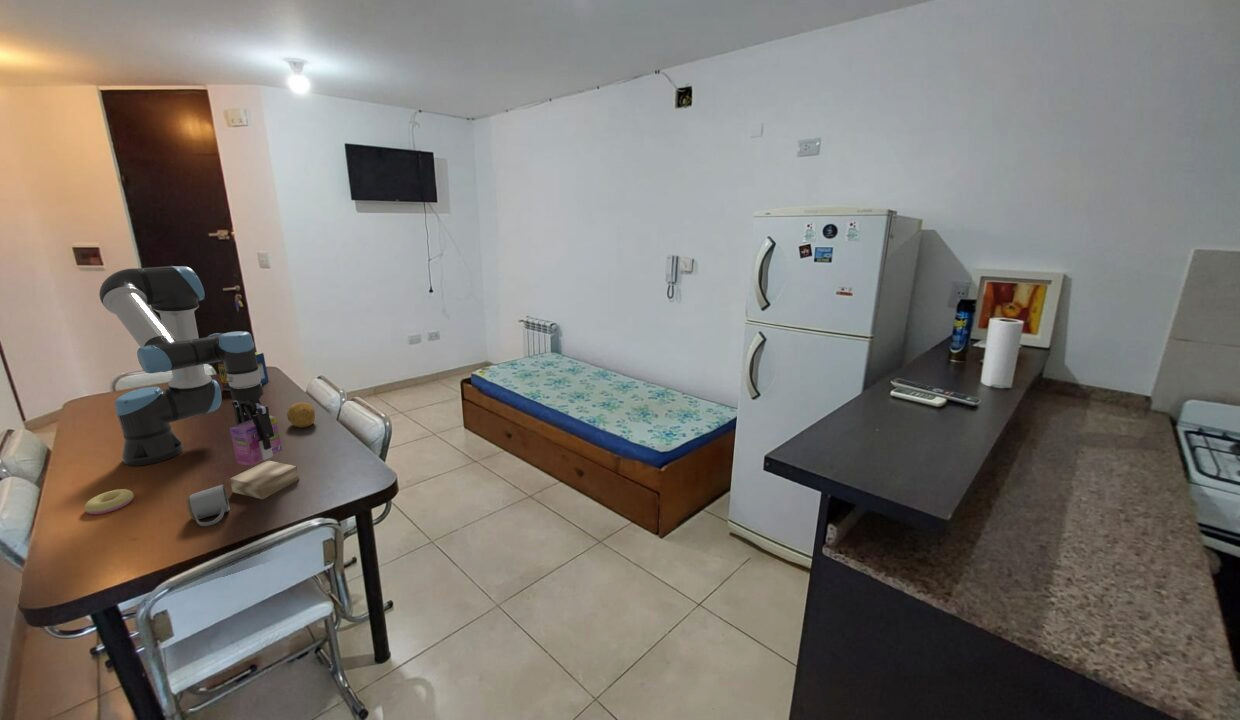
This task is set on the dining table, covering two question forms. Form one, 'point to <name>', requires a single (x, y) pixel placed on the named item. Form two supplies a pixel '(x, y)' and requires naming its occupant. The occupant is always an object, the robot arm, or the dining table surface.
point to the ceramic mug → (208, 504)
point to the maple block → (264, 479)
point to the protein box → (260, 365)
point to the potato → (301, 414)
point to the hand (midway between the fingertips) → (260, 455)
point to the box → (252, 442)
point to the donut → (109, 501)
